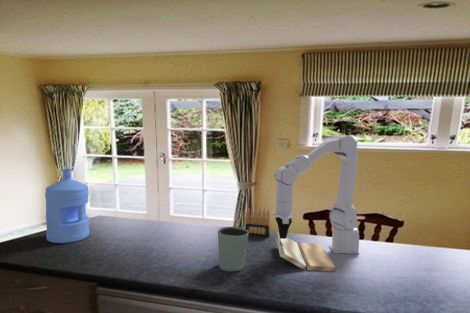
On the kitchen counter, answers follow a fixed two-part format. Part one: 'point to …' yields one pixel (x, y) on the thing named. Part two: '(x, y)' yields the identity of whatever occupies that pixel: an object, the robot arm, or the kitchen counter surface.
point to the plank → (290, 251)
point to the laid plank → (315, 257)
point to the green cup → (232, 248)
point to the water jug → (66, 210)
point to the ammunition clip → (258, 223)
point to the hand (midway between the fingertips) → (282, 238)
